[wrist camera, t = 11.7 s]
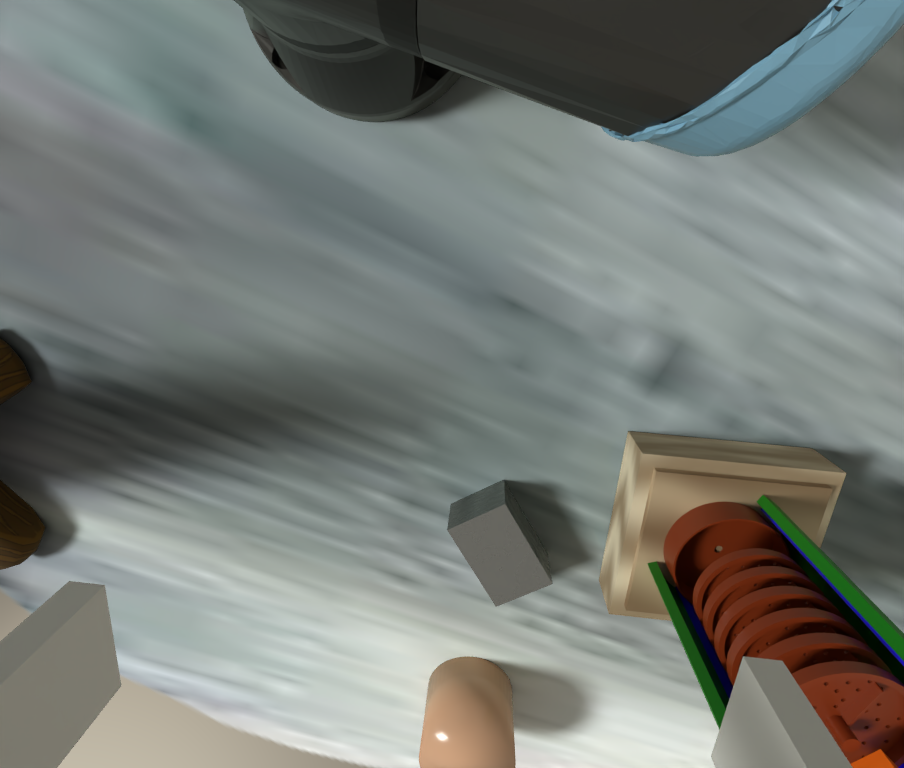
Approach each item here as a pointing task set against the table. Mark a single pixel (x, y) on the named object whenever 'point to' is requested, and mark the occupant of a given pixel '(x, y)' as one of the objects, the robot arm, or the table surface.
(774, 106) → the robot arm
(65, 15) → the table surface
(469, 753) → the tan rounded cylinder
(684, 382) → the table surface
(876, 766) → the motor
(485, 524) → the grey stone block
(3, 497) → the wooden stand
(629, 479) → the plinth
